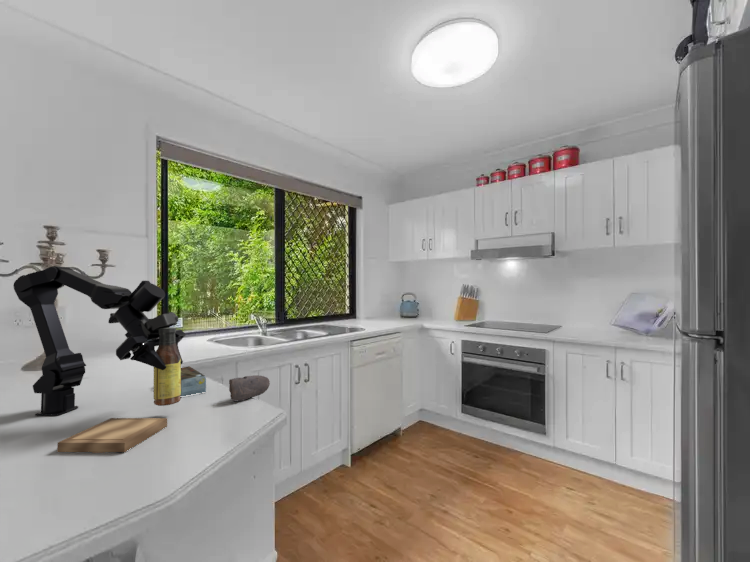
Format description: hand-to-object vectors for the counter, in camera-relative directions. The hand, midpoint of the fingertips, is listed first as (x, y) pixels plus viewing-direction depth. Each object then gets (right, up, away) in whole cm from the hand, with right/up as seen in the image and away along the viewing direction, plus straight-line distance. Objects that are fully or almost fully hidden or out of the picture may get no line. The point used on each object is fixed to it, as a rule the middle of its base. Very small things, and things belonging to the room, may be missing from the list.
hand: (173, 366), depth 91 cm
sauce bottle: (-2, -10, 0) cm, 10 cm away
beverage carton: (-11, -15, +26) cm, 32 cm away
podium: (-4, -13, -14) cm, 19 cm away
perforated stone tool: (+14, -14, +17) cm, 26 cm away
